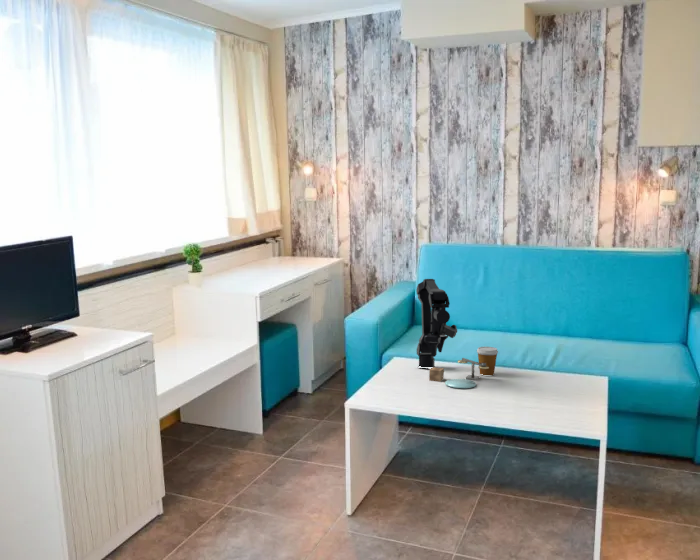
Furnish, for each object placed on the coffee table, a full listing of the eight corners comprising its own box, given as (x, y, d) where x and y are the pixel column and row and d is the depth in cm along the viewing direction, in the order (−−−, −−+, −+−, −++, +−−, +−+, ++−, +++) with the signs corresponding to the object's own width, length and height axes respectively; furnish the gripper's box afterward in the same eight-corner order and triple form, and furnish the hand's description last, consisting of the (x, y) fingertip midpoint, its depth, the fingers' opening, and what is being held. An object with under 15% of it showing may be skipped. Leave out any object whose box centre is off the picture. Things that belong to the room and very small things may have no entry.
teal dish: (441, 387, 284) (441, 384, 284) (450, 379, 296) (450, 377, 296) (471, 390, 279) (471, 388, 279) (479, 383, 291) (479, 380, 291)
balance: (455, 378, 299) (456, 358, 298) (458, 375, 304) (459, 356, 303) (487, 381, 293) (487, 361, 292) (489, 378, 298) (490, 359, 297)
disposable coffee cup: (499, 377, 301) (500, 350, 300) (478, 376, 301) (478, 350, 300) (495, 371, 311) (495, 346, 309) (474, 371, 311) (475, 346, 309)
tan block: (429, 380, 295) (429, 369, 294) (432, 378, 299) (432, 367, 299) (440, 382, 293) (440, 370, 292) (443, 379, 297) (443, 368, 297)
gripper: (449, 324, 281) (448, 360, 283) (461, 317, 298) (460, 351, 300) (424, 322, 286) (423, 358, 288) (437, 315, 303) (436, 349, 305)
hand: (437, 354), depth 295 cm, fingers open, 9 cm apart
